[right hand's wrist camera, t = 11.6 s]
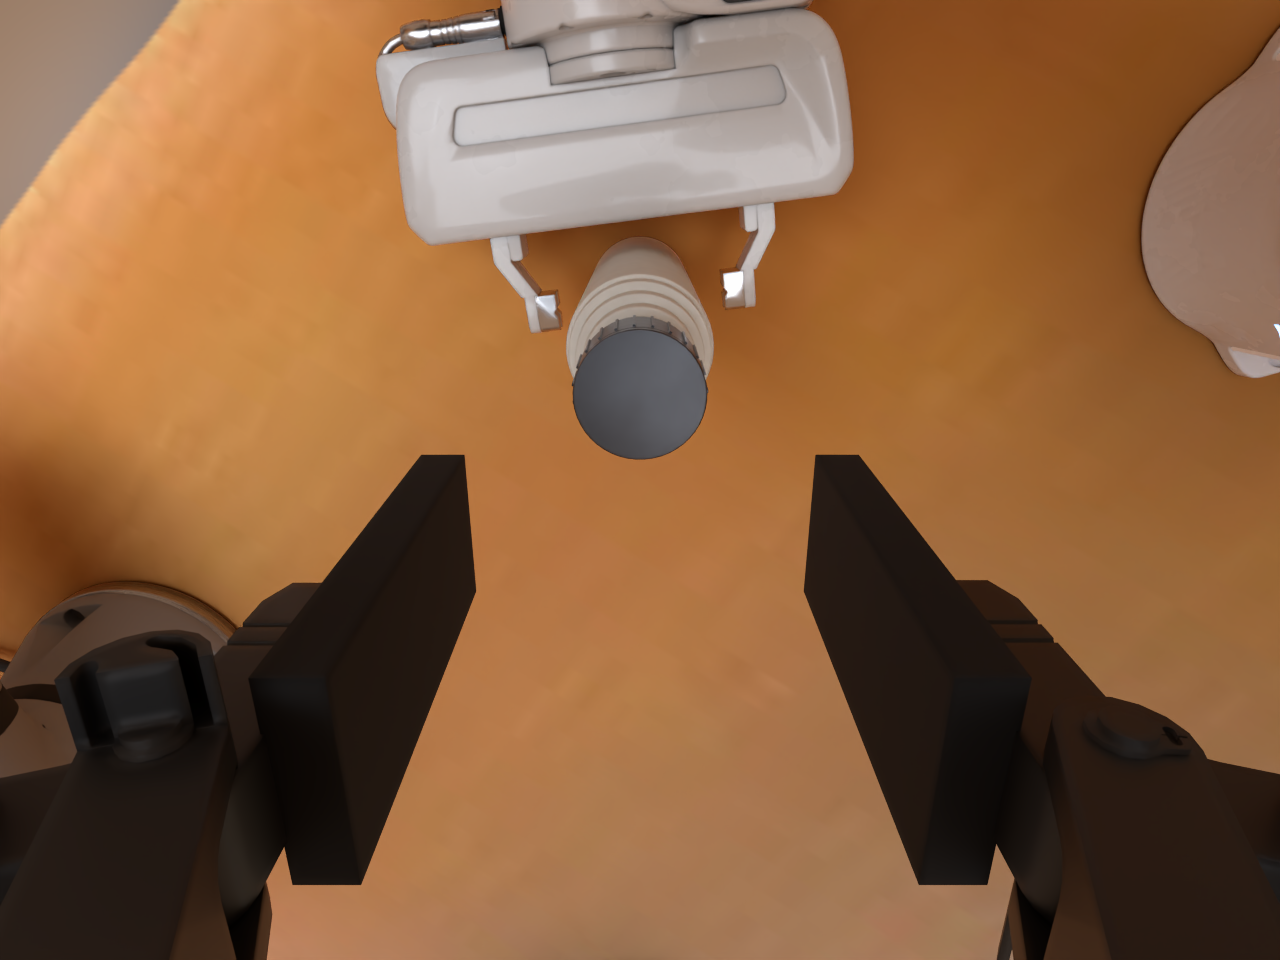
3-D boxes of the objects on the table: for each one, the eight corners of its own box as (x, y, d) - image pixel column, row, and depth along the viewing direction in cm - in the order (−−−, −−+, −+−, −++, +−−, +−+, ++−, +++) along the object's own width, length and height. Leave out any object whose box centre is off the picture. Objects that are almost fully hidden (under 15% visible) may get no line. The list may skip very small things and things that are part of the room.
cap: (678, 454, 25) (681, 478, 23) (560, 416, 25) (553, 437, 23) (721, 338, 24) (729, 353, 22) (598, 296, 23) (594, 308, 21)
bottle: (668, 345, 46) (695, 500, 24) (581, 315, 45) (526, 447, 23) (700, 254, 44) (760, 335, 22) (609, 222, 43) (578, 272, 22)
